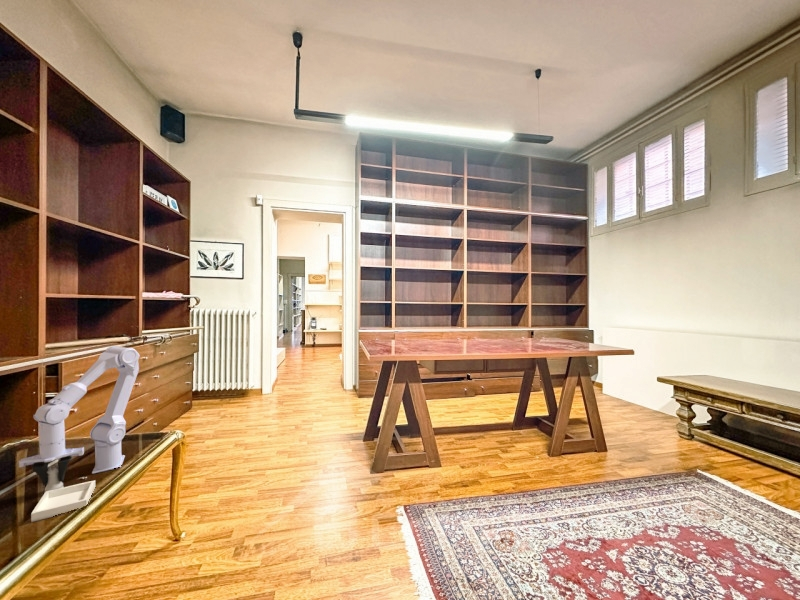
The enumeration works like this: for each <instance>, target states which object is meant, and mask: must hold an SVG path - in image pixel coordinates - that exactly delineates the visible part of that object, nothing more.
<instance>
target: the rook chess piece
mask: <svg viewBox="0 0 800 600" xmlns="http://www.w3.org/2000/svg"><path fill="white" fill-rule="evenodd" d="M46 473H48V476H47V477H48V482H47V484H46V486H45V488H44V492H43V493H45V492H46V491H50V490H55V489H59V488H63V487H65V486H64V482H63V481H60V482H59V467H58V464H55V465H54V466H53V465H52V466H48V470H47V471H46Z"/></svg>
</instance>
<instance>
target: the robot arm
mask: <svg viewBox="0 0 800 600" xmlns="http://www.w3.org/2000/svg"><path fill="white" fill-rule="evenodd" d="M140 356H141V355H140V353H139V352H138V350H136V349H135V348H133V347H123V346H118V345H111V346H109V347H107V348H106V349H105V350H104V351H103V352H102V353H101V354H99V357H98V358H97V360H96V361H95V362H94V363H93V364H92V365H91V366H90V367H89V368H88V370H86V371H85V372H84V373H83V374H82V375H81V376H80V378H79V379H78V380H76V381H75V382H70V383H68V384H67V385H64V386H62V387H61V390H60V392H58V393H57V394H56V395H55V396H54V397H53V398H52V399H50V400H48V403H45V404H42V405H41V406H39V407H38V408H37V409H36V412H35V414H33V417H32V418H33V419H34V420H35V421H36V422H38V439H39V440H38V441H39V442H38V443H39V447H38V448H39V453H38V454H36V455H32V456H28V457H23V458H21V459H20V460H18V468H23V467H25V466H29V465H31V466H32V465H33V466H32V468H31V470H32V471H33V472H34V473H35V474H37V476H38V477H39V479H40V481H41V483H42V486H45V485H47V484H48V477H47V476H48V473H46V471H47V470H48V468H49V462H53V461H55V460H59V461H58V462H57V466H58V467H59V482H60V481H61V482H63V481H64V479H65V474H66V471H67V468H68V466H69V463H70V462H71V459H72V458H73V457H76V456H79V457H80V456H83V455H84V453H85V447H84V446H82V447H77V448H74V447H73V448H66V427H65V426H66V425H65V420H66V419H67V418H68V417H69V416H70V415H69V414H70V411H71V409H72V408H73V407H74V405H75V404H77V403H78V401H80V400H81V399H82V398H83V397H84V396H85V395H86V394H87V392H88V390H87V388H88V387H89V386H91V384H93V383H94V382H95V381H96V380H97V379H98V378H100V377H101V375H103V374H104V373H105V372H106V371H107V370H109V369H114V368H115V369H116V370H117V371H118V372H119V373H118V377H117V379H116V382H115V385H114V388H113V391H112V393H111V395H110V397H109V401H108V404H107V407H106V409H105V412H104V415H101V416H100V418H98V419H97V421H96V423H95V425H94V426H93V427H92V428H91V430H90V432H89V437H90V439H91V440H93V441H94V452H95V453H94V455H95V457H94V458H95V461H94V462H95V465H94V468H93V469H92V471H91V474H93V475H94V474H96V473H97V474H98V473H102V472H107V471H110V470H111V471H112V470H115V469H114V468H116V469H119V468H118V467H120V468H122V466H121V465H123V463H124V460H125V457H126V455H124V454H122V440H123V439H124V437H125V435H126V425H127V421H126V420H125V418H124V414H125V412H126V408H127V406H128V403H129V400H130V397H131V394H132V390H133V389H134V388H133V387H134V385H135V382H136V380H137V377H138V374H139V370H140V364H139V358H140Z"/></svg>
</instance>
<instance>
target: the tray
mask: <svg viewBox="0 0 800 600" xmlns="http://www.w3.org/2000/svg"><path fill="white" fill-rule="evenodd" d="M96 486H97V485H96V479H95V480H91V481H85V482H82V483H81V482H80V483H77V484H73V485H68V486H64V487H63V488H59V489H55V490H50V491H46V492H45V491H44V492H45V493H44V492H43V493H44V494H43V495H42V496H41V498H40V500H39V501H38V503H37V504H36V506H35V507H34V509H33V510H32V512H31V514H30V521H31V523H33V522H38V521H42V520H45V519H48V518H52V517H53V516H54V517H56V516H55V515H57V516H59V515H58V514H61V513H65V512H68V511H71V510H74V509H77V508H80V507H83V506H86V505H87V504H88V501H89V499H90V498H91V499H92V497H91V495H92V493H93V494H94V492H95V490H96V488H95V487H96ZM94 489H95V490H94ZM93 491H94V492H93ZM92 496H93V495H92ZM91 499H90V500H91ZM89 502H90V501H89ZM88 505H89V504H88ZM65 514H66V513H65ZM61 515H62V514H61Z"/></svg>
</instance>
